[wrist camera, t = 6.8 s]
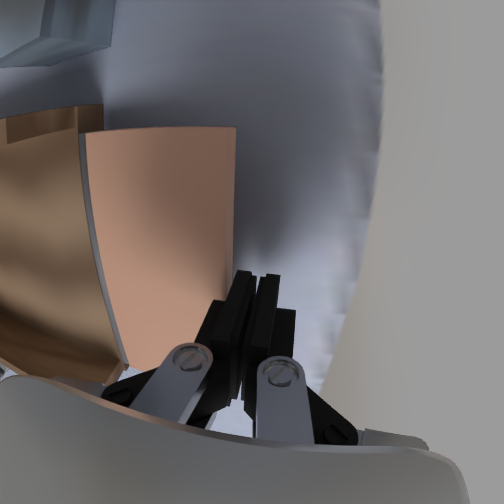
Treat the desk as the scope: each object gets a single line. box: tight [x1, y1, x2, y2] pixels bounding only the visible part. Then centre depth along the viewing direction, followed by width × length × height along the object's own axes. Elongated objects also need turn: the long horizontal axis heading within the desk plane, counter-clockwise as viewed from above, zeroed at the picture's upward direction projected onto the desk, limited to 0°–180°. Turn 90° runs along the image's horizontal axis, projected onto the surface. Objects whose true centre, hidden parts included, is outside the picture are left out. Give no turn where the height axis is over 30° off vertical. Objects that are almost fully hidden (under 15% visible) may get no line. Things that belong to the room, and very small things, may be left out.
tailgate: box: [79, 126, 236, 372], centre depth 13 cm, size 13×1×7 cm
